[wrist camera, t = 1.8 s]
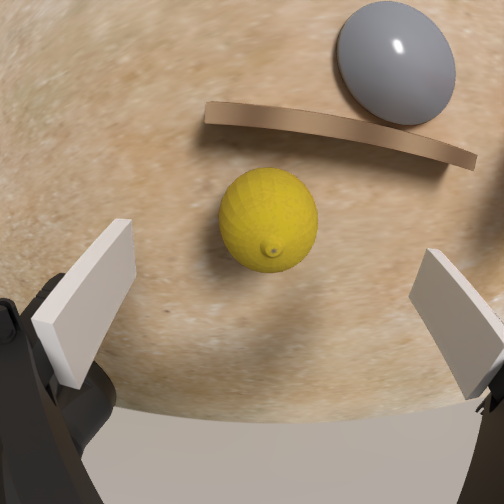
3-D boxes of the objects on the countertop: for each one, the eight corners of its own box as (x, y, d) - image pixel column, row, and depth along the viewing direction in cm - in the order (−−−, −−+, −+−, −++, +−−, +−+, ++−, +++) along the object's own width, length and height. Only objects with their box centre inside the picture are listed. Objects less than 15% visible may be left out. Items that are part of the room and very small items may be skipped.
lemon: (248, 245, 23) (249, 315, 16) (208, 180, 21) (188, 228, 14) (317, 211, 22) (349, 270, 15) (282, 141, 20) (303, 169, 13)
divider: (210, 119, 19) (204, 123, 16) (212, 101, 18) (205, 102, 16) (451, 160, 20) (473, 171, 17) (454, 146, 19) (477, 155, 17)
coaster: (329, 108, 18) (332, 109, 18) (342, -12, 14) (345, -15, 14) (441, 136, 19) (446, 138, 18) (453, 29, 15) (458, 28, 14)
